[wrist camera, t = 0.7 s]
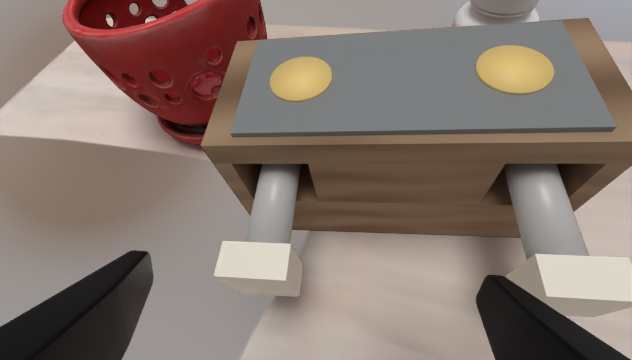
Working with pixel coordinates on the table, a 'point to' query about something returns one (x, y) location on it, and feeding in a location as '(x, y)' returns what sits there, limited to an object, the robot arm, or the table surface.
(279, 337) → the table surface
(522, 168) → the button
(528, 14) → the supplement bottle
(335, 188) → the button box
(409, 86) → the card
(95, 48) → the plant pot
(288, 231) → the button
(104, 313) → the robot arm
